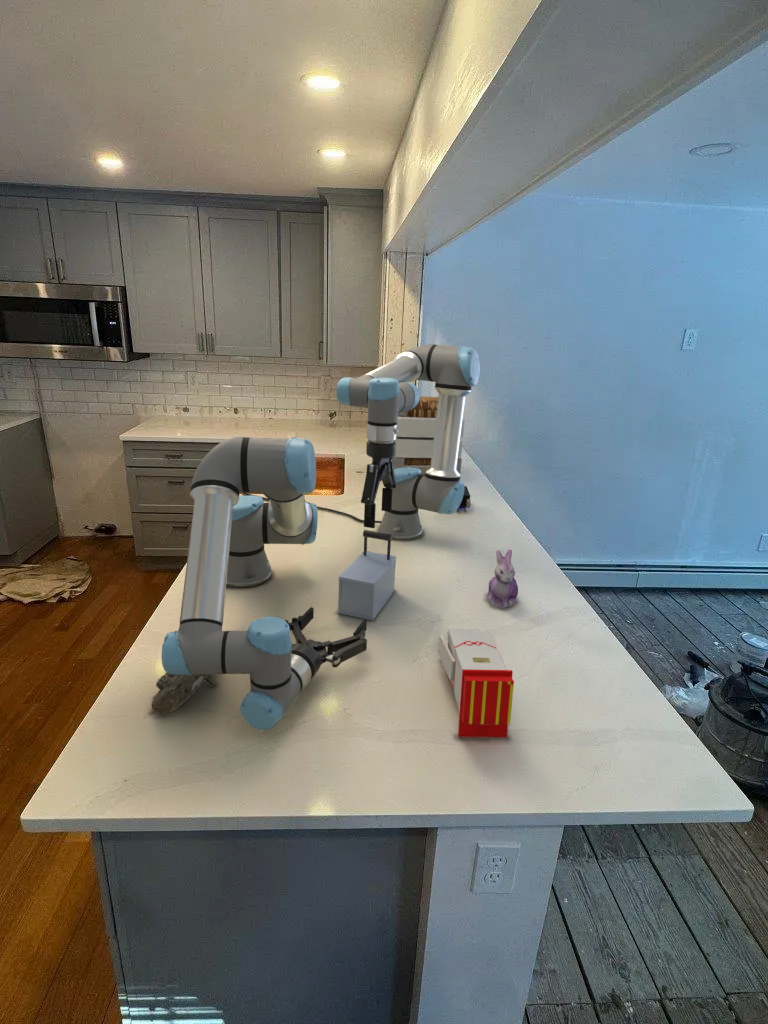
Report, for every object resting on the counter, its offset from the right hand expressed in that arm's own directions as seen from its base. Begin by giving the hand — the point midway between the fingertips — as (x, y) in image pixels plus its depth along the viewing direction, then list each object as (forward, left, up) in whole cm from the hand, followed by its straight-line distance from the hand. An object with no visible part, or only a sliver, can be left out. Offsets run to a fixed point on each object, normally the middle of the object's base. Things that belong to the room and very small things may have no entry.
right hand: (378, 518), depth 151 cm
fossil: (+9, -56, -22) cm, 61 cm away
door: (+3, -5, -12) cm, 13 cm away
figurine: (+25, +25, -22) cm, 41 cm away
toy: (+46, -12, -22) cm, 52 cm away
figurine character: (-35, +74, -22) cm, 84 cm away
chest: (+3, -5, -22) cm, 23 cm away
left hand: (+13, -23, -16) cm, 31 cm away
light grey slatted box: (-81, +95, -22) cm, 127 cm away
